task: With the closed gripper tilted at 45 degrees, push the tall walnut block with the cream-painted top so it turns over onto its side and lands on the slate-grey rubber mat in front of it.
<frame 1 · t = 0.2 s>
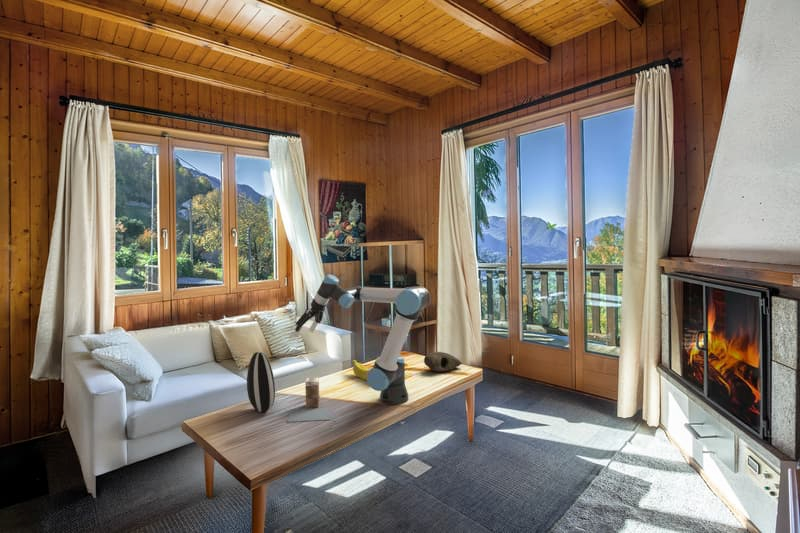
hand: (303, 333, 224), 35 cm above the table, fingers open, 13 cm apart
sunflower seed: (261, 411, 207), on the table
mat: (310, 415, 201), on the table
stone: (441, 370, 268), on the table
fruit: (365, 379, 253), on the table
block: (312, 406, 212), on the table
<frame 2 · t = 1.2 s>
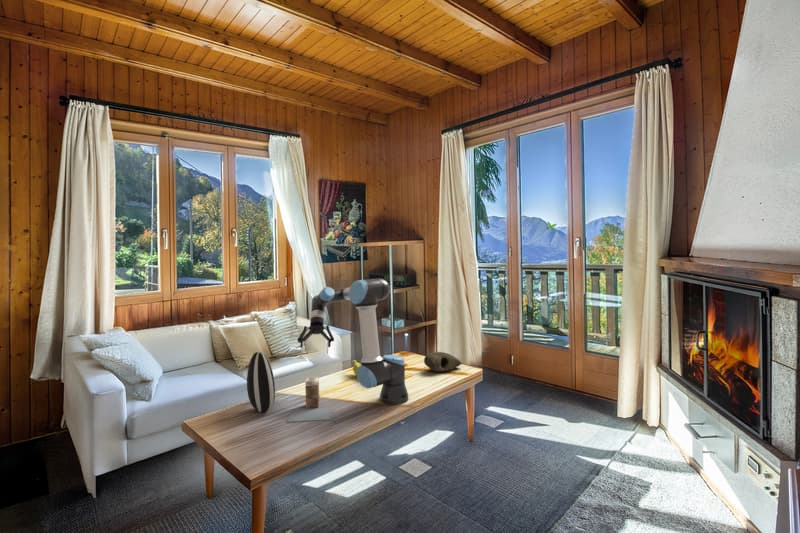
hand: (315, 352, 226), 24 cm above the table, fingers open, 12 cm apart
nothing on the table moved.
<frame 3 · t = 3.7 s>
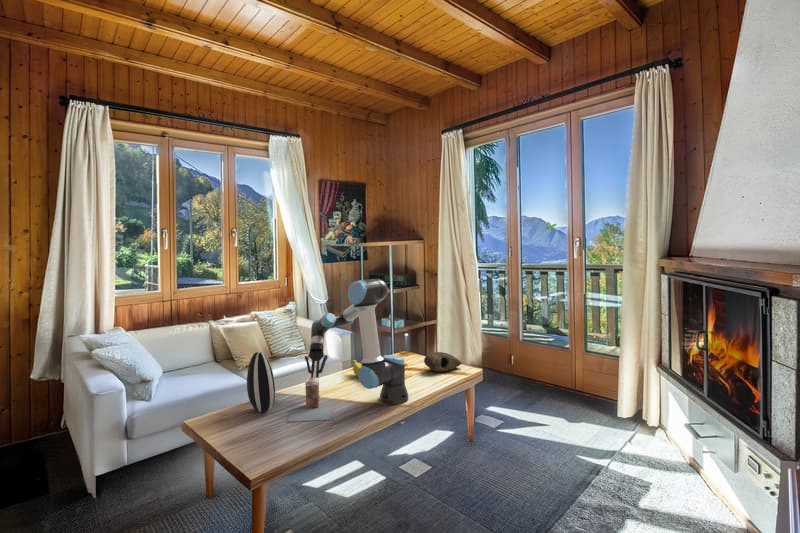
hand: (314, 384, 219), 9 cm above the table, fingers closed
nothing on the table moved.
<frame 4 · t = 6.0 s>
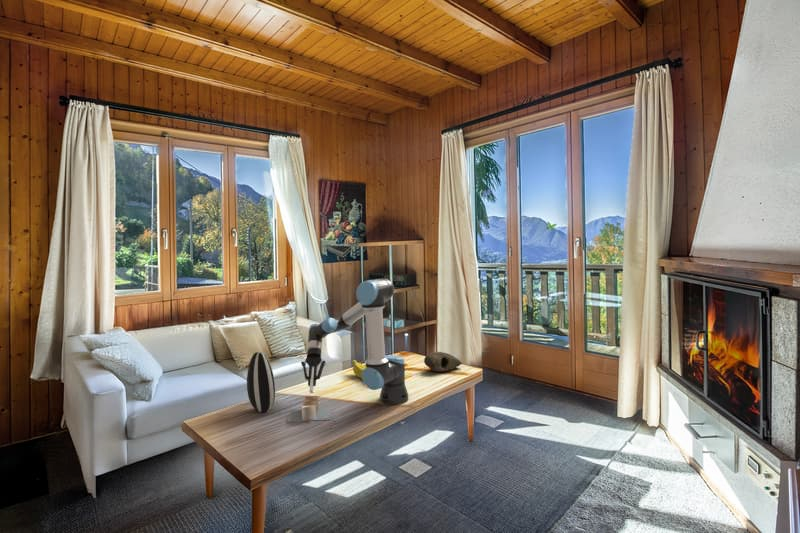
hand: (311, 391, 209), 8 cm above the table, fingers closed
block: (312, 402, 209), point 3 cm above the table, tilted 90°, touching mat
everything else where it was.
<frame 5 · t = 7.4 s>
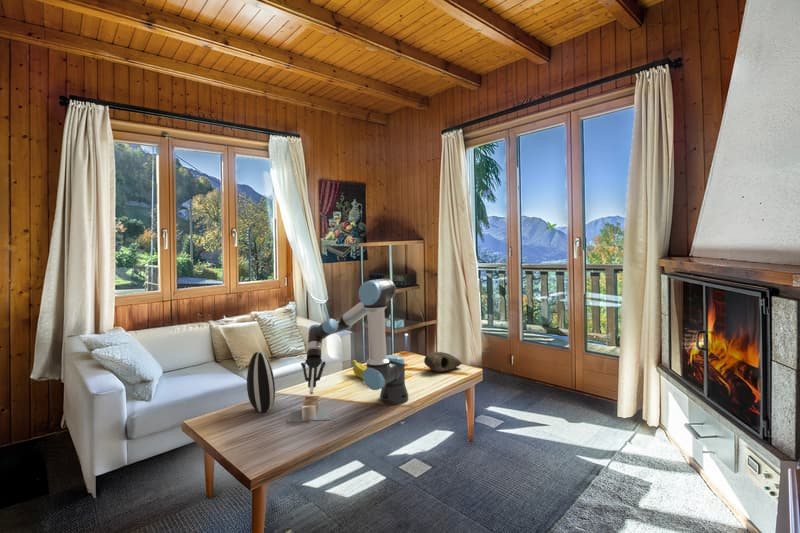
hand: (311, 393, 207), 9 cm above the table, fingers closed
nothing on the table moved.
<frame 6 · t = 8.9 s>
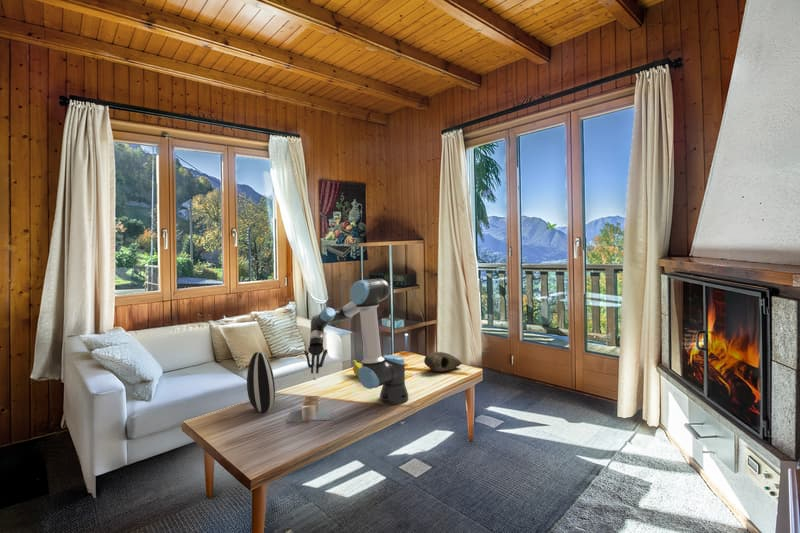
hand: (314, 378, 218), 12 cm above the table, fingers closed
nothing on the table moved.
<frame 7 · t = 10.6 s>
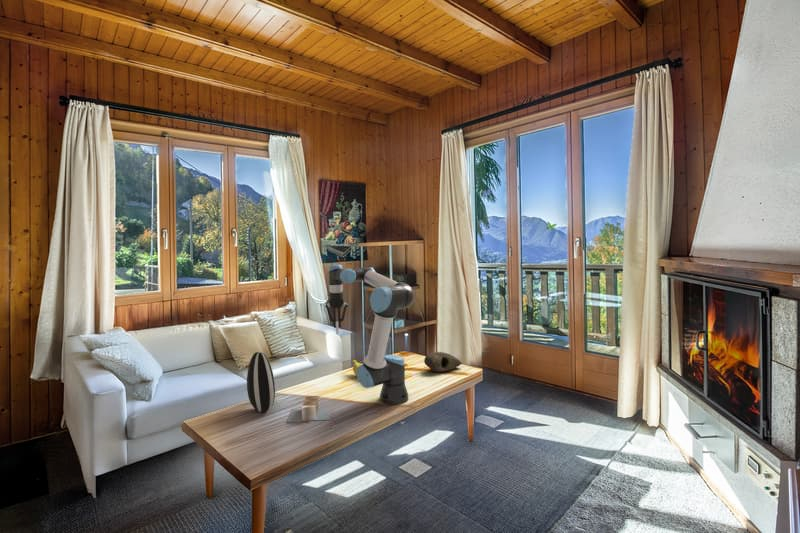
hand: (337, 333, 235), 32 cm above the table, fingers closed
nothing on the table moved.
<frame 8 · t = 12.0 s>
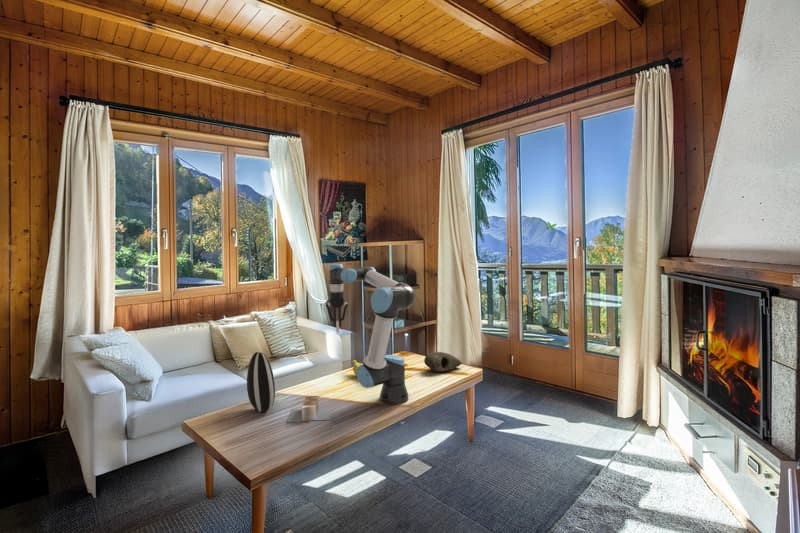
hand: (337, 332, 235), 32 cm above the table, fingers closed
nothing on the table moved.
at the end: block tilted 90°; block touching mat; block inside the target area (2.3 cm from its centre), point 3.4 cm above the table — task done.
